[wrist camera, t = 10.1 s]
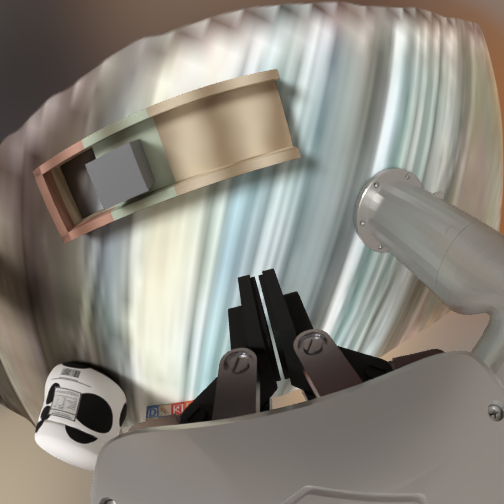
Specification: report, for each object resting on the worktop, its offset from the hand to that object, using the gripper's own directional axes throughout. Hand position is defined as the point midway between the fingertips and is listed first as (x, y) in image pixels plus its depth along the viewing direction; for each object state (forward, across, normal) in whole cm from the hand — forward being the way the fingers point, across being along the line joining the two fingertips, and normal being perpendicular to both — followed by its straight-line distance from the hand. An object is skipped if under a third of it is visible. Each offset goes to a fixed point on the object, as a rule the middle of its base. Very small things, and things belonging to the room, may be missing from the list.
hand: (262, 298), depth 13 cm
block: (+18, +11, -6) cm, 22 cm away
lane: (+20, +7, -6) cm, 23 cm away
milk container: (+20, +38, +28) cm, 52 cm away
